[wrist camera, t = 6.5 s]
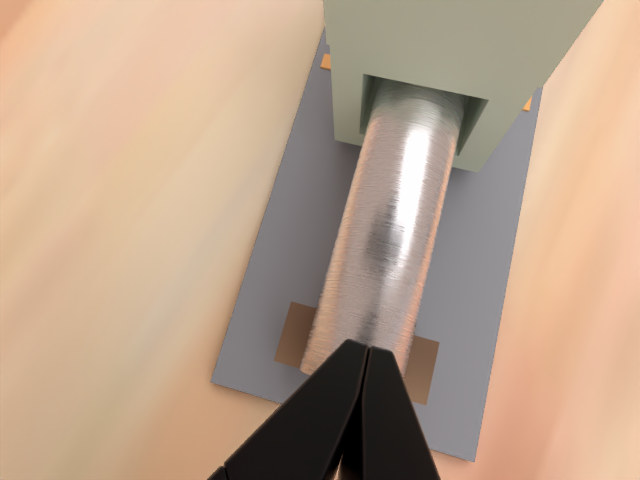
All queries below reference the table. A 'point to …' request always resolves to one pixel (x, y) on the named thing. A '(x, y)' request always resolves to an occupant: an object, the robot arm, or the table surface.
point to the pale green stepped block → (449, 58)
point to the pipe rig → (383, 254)
